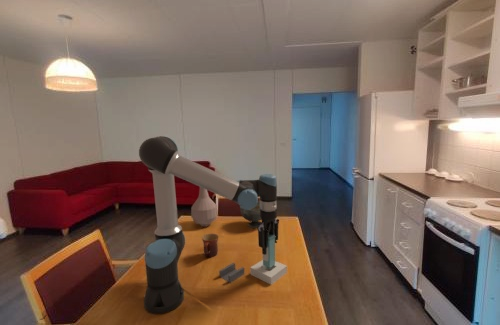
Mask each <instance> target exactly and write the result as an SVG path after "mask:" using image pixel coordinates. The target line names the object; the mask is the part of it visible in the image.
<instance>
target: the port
mask: <svg viewBox="0 0 500 325" xmlns="http://www.w3.org/2000/svg"><path fill="white" fill-rule="evenodd" d="M249 270H250V273H249V274H250V276H252V277H255V278H257V279H259V280H261V281H263V282H265V283H267V284H269V285H274V284H275V283H276V282H277V281H278V280H279V279H281V278H282V277H284V276H285V275H286V274H287V273H288V265H286V264H284V263H281V262H279V261H276V260H275V265H273V266H272V267H270V268H269V267H267V266H265V265H263V259H262V260H260V261H258V262H257V263H255V264H253V265H252V266H250V268H249Z"/></svg>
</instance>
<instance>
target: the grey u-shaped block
mask: <svg viewBox="0 0 500 325" xmlns="http://www.w3.org/2000/svg"><path fill="white" fill-rule="evenodd" d="M218 272H219V278H221V279H223V280H224V281H226V282H227V283H229V284H231V283H233V282H235V281H236V280H238V279H239V278H241V277H242V276H244V275H245V267H244V266H242V267H240V268H238V269H236V263H235V262H232V263H230V264H228V265H227V266H225V267H223V268H221V269H220V270H219V271H218Z"/></svg>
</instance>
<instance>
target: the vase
mask: <svg viewBox="0 0 500 325" xmlns="http://www.w3.org/2000/svg"><path fill="white" fill-rule="evenodd" d="M209 195H210V194H209V192H208V190H207V189H204V188H202V187H200V186H199V191H198V197H197V199H196V200H195V202H193V204H192V205H191V210H190V211H191V212H190V213H191V215H190V216H191V219H192V220H193V222H194V223H195V224H198V225H200V226H201V227H208V226H210V224H212V223H213V222H215V221H216V219H217V216H218V207H217V204H216V203H215V202H214V201H213V200H212V198H211V197H210V196H209Z"/></svg>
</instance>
